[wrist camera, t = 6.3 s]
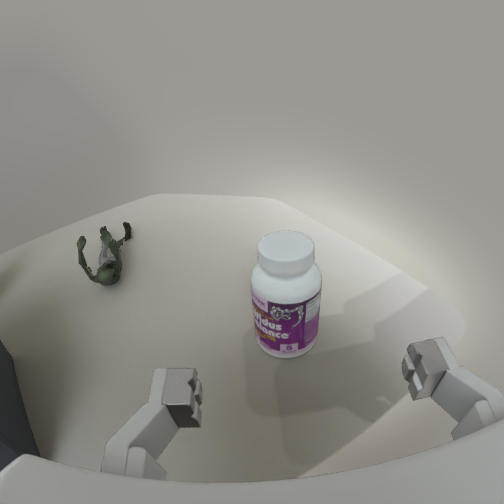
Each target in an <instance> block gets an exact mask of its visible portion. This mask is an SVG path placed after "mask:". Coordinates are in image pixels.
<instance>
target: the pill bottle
mask: <svg viewBox="0 0 504 504" xmlns="http://www.w3.org/2000/svg"><path fill="white" fill-rule="evenodd" d="M257 250H258V263H257V264H256V265H255V267H254V268H253V270H252V273H251V291H252V301H253V311H254V322H255V333H256V339H257V342H258V344H259V346H260V347H261V348H262V349H263V350H264V351H265V352H266V353H268V354H270V355H271V356H274V357H277V358H295V357H298V356H300V355H303V354H304V353H306V352H307V351H309V350H310V349H311V348H312V346H313V345H314V343H315V341H316V337H317V330H318V320H319V309H320V297H321V286H322V275H321V271H320V269H319V267H318V266H317V264H316V263H315V262H314V260H315V256H314V242H313V241H312V239H311V238H310V237H308V236H307V235H305V234H303V233H300V232H296V231H276V232H272V233H270V234H267V235H265V236H264V237H263V238H261V239H260V241H259V243H258V247H257Z"/></svg>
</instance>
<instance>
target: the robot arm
mask: <svg viewBox="0 0 504 504" xmlns="http://www.w3.org/2000/svg"><path fill="white" fill-rule="evenodd" d="M407 352H408V354H407V355H406V356H404V358H403V361H402V373H403V376H404V379H405V380H407V381H408V382H410V383H409V386H408V389H409V391H410V394H411V397H412V399H413V400H418V399H422V398H426V397H430V396H431V398H432V399H433V400H434V401H435V402H436V403H438V404H439V405H440V406H441V407H442V408H443V409H444V410H445V411H447V413H449V414H450V415H451V416H452V417H453V418H454V419H455V420H456V421H457V422H459V424H458V425H457V426H456V427H455V428H454V429H453V431H452V433H451V434H452V437H453V440H454V441H451V442H449V443H446V444H443V445H440V446H437V447H434V448H431V449H428V450H425V451H422V452H419V453H416V454H413V455H409V456H406V457H402V458H399V459H395V460H392V461H388V462H384V463H380V464H376V465H371V466H367V467H363V468H358V469H353V470H348V471H343V472H337V473H331V474H326V475H319V476H312V477H305V478H296V479H286V480H275V481H261V482H240V483H200V482H178V481H166V471H165V470H164V469H163V468H162V467H161V466H160V465H159V464H158V463H157V462H156V460H157V458H158V457H159V456H160V454H161V453H162V452H163V450H164V449H165V447H166V446H167V445H168V443H169V442H170V441H171V439H172V438H173V436H174V435H175V434H176V432H177V431H178V430H179V428H194V427H200V426H201V410H200V408H199V406H200V405H201V403H202V386H201V382H200V380H199V379H198V378H197V374H198V373H197V370H196V368H155V370H154V373H153V378H152V383H151V388H150V393H149V398H148V404H143V405H142V406H141V407H140V408H139V410H138V411H137V412H136V413H135V414H134V415H133V416H132V417H131V418H130V419H129V420H128V421H127V422H126V423H125V424H124V425H123V426H122V427H121V428H120V429H119V430H118V431H117V432H116V433H115V434H114V435H113V436H112V437H111V439H110V440H109V441H108V442H107V443H106V448H105V453H104V458H103V463H102V468H101V472H98V471H93V470H88V469H83V468H79V467H74V466H70V465H66V464H62V463H58V462H54V461H51V460H47V459H44V458H40V457H37V456H34V455H30V454H23V455H21V456H19V457H18V458H16V459H15V460H14V461H12V462H11V463H10V464H9V465H7V466H6V467H5V468H4V469H3V470H2V471H1V472H0V504H504V396H503V394H502V392H501V391H500V390H499V389H497V388H496V387H494V386H493V385H491V384H490V383H488V382H486V381H485V380H484V379H482V378H481V377H479V376H478V375H476V374H475V373H473V372H471V371H470V370H468V369H467V368H465V367H464V366H459V364H458V362H457V360H456V358H455V357H454V355H453V353H452V351H451V349H450V347H449V345H448V344H447V342H446V340H445V338H443V337H439V338H435V339H429V340H425V341H420V342H416V343H411V344H410V345H409V346H408V348H407Z"/></svg>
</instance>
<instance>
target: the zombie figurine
mask: <svg viewBox="0 0 504 504" xmlns="http://www.w3.org/2000/svg"><path fill="white" fill-rule="evenodd" d="M123 226H124V228H125V237H124V238H123V239H121V240H119V241H117V242H116V240H115V241H114V239H112V242H111V237H112V236H111V234H110V232H108V231H107V228H106V226H104V228H103V227H101V229H100V233H101V235H102V236H100V238H101V241H102V250H101V253H100V257H99V264H100V267H99V269H98V272H97V275H95V276H93V274H92V273H91V272H92V270H90V267H87V264H86V261H85V258H84V255H83V252H82V250H83V248H84V246H85V244H86V239H85V238H84V236H80V238H79V240H78V242H77V247H78V254H79V264H80V265H81V266H82V268H83V269H84V271H85V272H86V274H87V275H88V277H89V278H90V280H92V281H93V282H96V283H100V284H101V285H110V284H112V283H114V282H116V281H118V279H119V277H120V276H119V274H120V272H121V269H122V262H121V256H120V253H121V249H120V246H121V245H123V242H124V241H127V240H128V239H129V238H130V236H131V226H130V224H129V223H126V222H124V223H123ZM108 246H109V248H110V250H111V252H112V254H113V255H114V256H113V257H107V249H108Z"/></svg>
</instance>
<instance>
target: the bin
mask: <svg viewBox="0 0 504 504" xmlns="http://www.w3.org/2000/svg"><path fill="white" fill-rule="evenodd" d="M23 454H30V455H34V456H37V457H40V458H41V456H40V454H39V451H38V448H37V446H36V443H35V440H34V437H33V434H32V431H31V428H30V425H29V422H28V419H27V415H26V412H25V409H24V405H23V401H22V398H21V394H20V390H19V386H18V382H17V378H16V373H15V369H14V364H13V359H12V356H11V355H10V353H9V352H8V350H7V349H6V348H5V346H4V345H3V343H2V342H1V341H0V472H1V471H2V470H3V469H4V468H5V467H6V466H7V465H9V464H10V463H11V462H12V461H14V460H15V459H16V458H18V457H19V456H21V455H23Z"/></svg>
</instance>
